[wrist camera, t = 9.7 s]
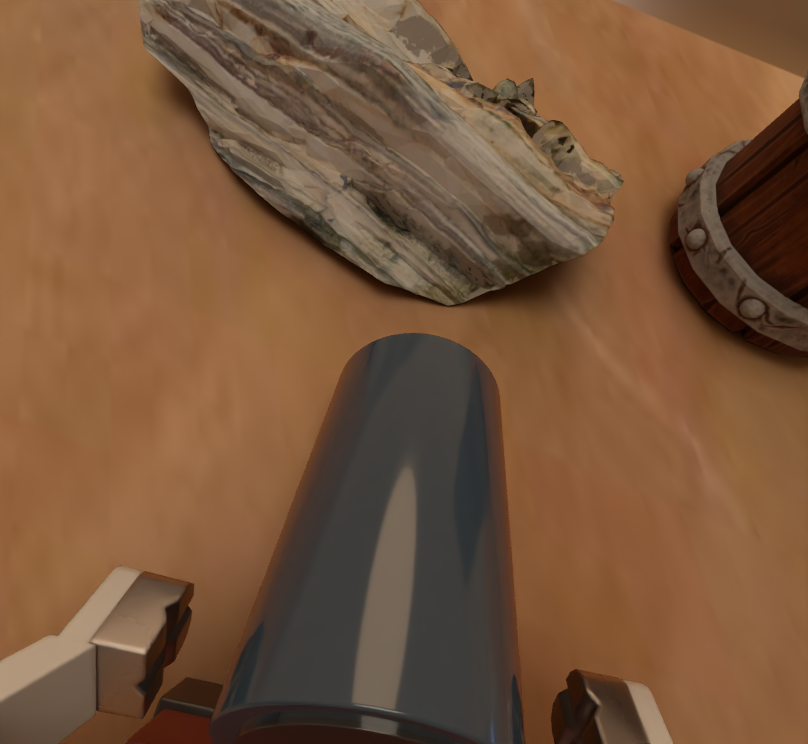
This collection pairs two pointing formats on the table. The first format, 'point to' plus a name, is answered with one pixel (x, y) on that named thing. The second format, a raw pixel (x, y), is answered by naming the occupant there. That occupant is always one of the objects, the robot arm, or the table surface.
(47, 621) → the table surface
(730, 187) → the mug
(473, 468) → the cup
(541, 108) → the table surface
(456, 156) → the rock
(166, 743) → the notebooks
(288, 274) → the table surface
